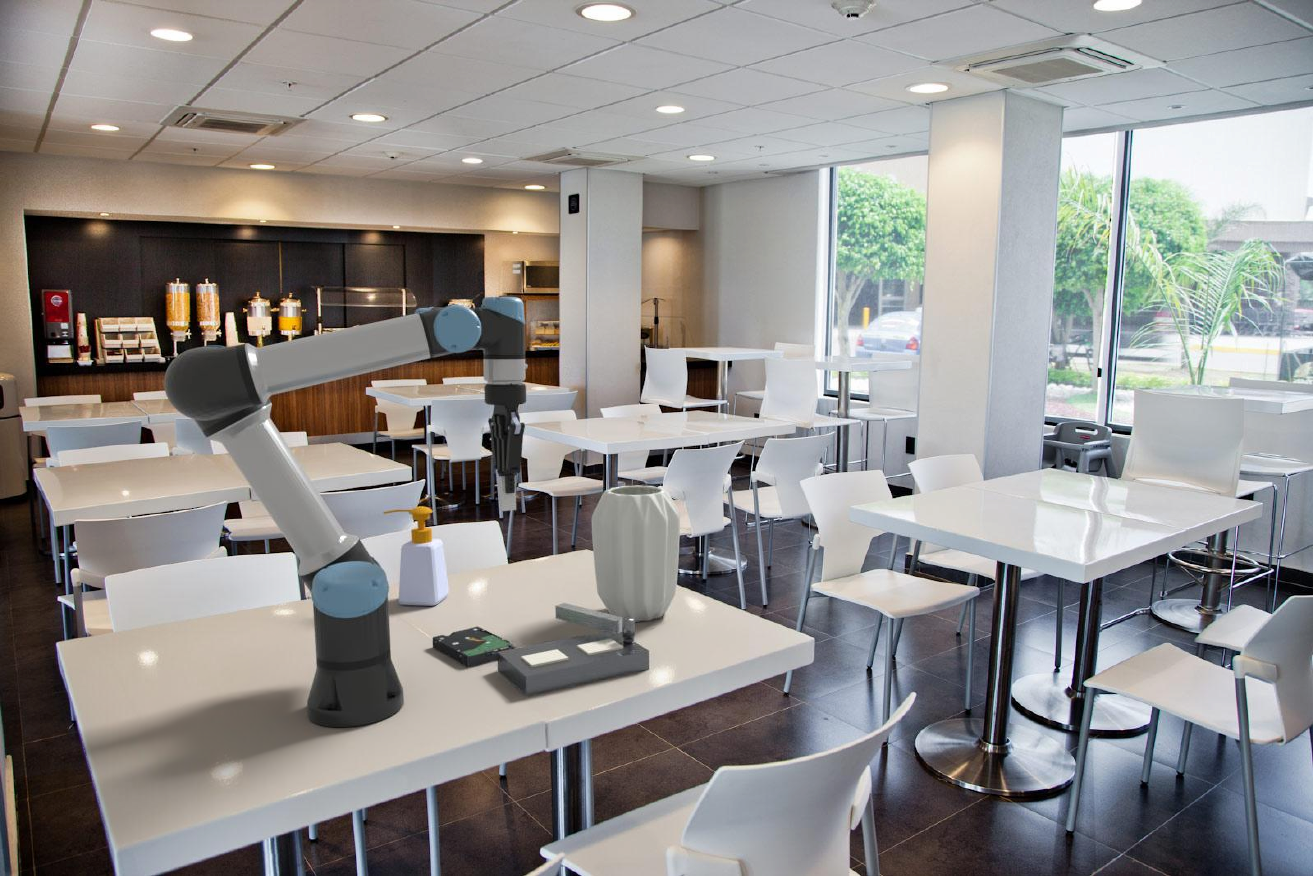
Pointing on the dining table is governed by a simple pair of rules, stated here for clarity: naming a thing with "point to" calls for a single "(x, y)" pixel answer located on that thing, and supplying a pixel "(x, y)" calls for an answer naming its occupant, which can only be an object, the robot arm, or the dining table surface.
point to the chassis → (571, 663)
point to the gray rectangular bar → (596, 619)
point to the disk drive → (471, 646)
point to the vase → (636, 550)
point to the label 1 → (544, 658)
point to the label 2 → (599, 647)
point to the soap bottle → (422, 564)
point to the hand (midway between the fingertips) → (507, 509)
